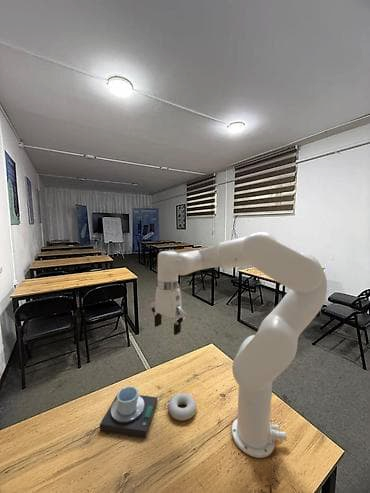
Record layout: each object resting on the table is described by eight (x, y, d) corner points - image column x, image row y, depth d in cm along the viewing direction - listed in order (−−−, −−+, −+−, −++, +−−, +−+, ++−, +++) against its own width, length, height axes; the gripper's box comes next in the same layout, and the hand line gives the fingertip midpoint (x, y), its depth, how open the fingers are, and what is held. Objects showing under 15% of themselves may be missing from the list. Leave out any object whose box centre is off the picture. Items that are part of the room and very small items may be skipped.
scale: (157, 403, 77) (157, 396, 76) (145, 438, 64) (146, 430, 64) (118, 398, 79) (118, 391, 78) (99, 431, 66) (99, 423, 66)
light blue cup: (140, 399, 74) (140, 387, 74) (133, 416, 67) (133, 403, 67) (122, 397, 75) (122, 385, 74) (113, 413, 68) (113, 400, 68)
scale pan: (148, 397, 76) (148, 395, 76) (137, 425, 65) (137, 423, 65) (119, 394, 77) (119, 392, 77) (104, 420, 66) (104, 418, 66)
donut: (164, 420, 70) (193, 426, 68) (164, 411, 70) (193, 416, 68) (172, 397, 80) (198, 401, 78) (172, 388, 80) (198, 392, 78)
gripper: (192, 286, 75) (191, 332, 76) (158, 279, 85) (157, 319, 87) (179, 291, 69) (178, 341, 70) (144, 282, 79) (144, 326, 81)
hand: (167, 329), depth 79 cm, fingers open, 9 cm apart
